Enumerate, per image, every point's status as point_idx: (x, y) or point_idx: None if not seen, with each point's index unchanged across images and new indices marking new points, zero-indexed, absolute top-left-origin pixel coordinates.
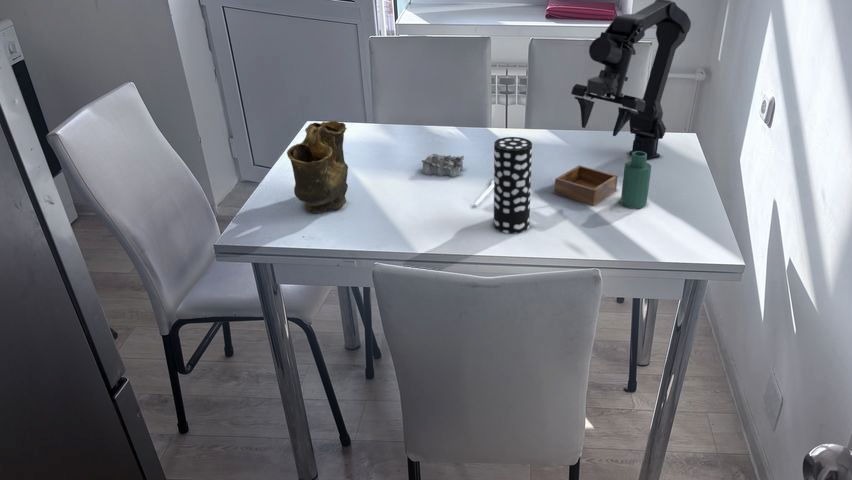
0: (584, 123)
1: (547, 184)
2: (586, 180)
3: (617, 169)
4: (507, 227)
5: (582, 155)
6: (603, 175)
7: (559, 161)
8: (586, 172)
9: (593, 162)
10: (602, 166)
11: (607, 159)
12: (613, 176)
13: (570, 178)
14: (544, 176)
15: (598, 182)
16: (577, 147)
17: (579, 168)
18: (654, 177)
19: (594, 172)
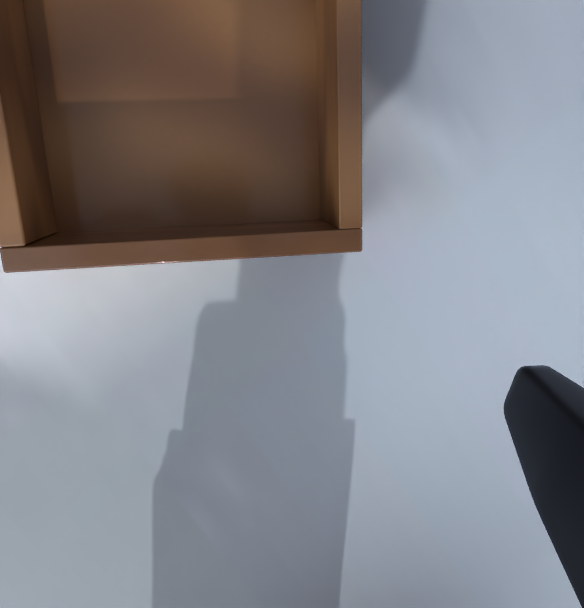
0: (552, 422)
1: (450, 30)
2: (264, 222)
3: (239, 518)
4: None
5: (500, 537)
6: (124, 238)
7: None
8: (275, 228)
9: (401, 504)
10: (330, 494)
11: (362, 586)
12: (21, 238)
13: (325, 90)
14: (529, 133)
15: (170, 229)
16: (573, 600)
17: (336, 219)
18: (4, 570)
19: (206, 234)
